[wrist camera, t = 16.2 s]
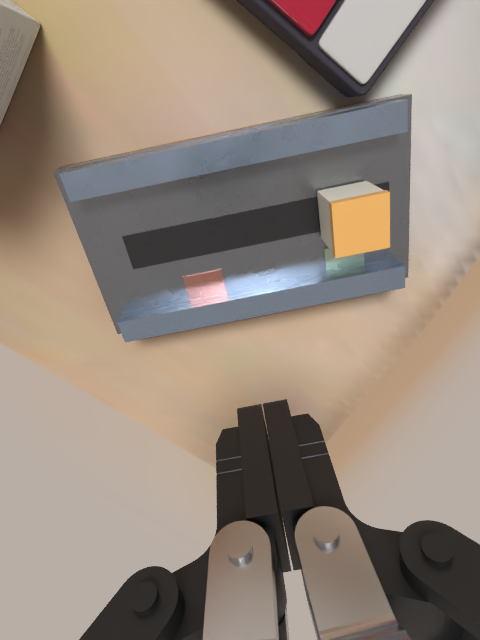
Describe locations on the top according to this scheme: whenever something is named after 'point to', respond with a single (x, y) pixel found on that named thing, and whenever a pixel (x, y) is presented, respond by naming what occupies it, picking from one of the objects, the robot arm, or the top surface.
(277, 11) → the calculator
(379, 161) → the panel
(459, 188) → the top surface
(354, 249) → the breaker toggle
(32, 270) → the top surface
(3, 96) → the small box
